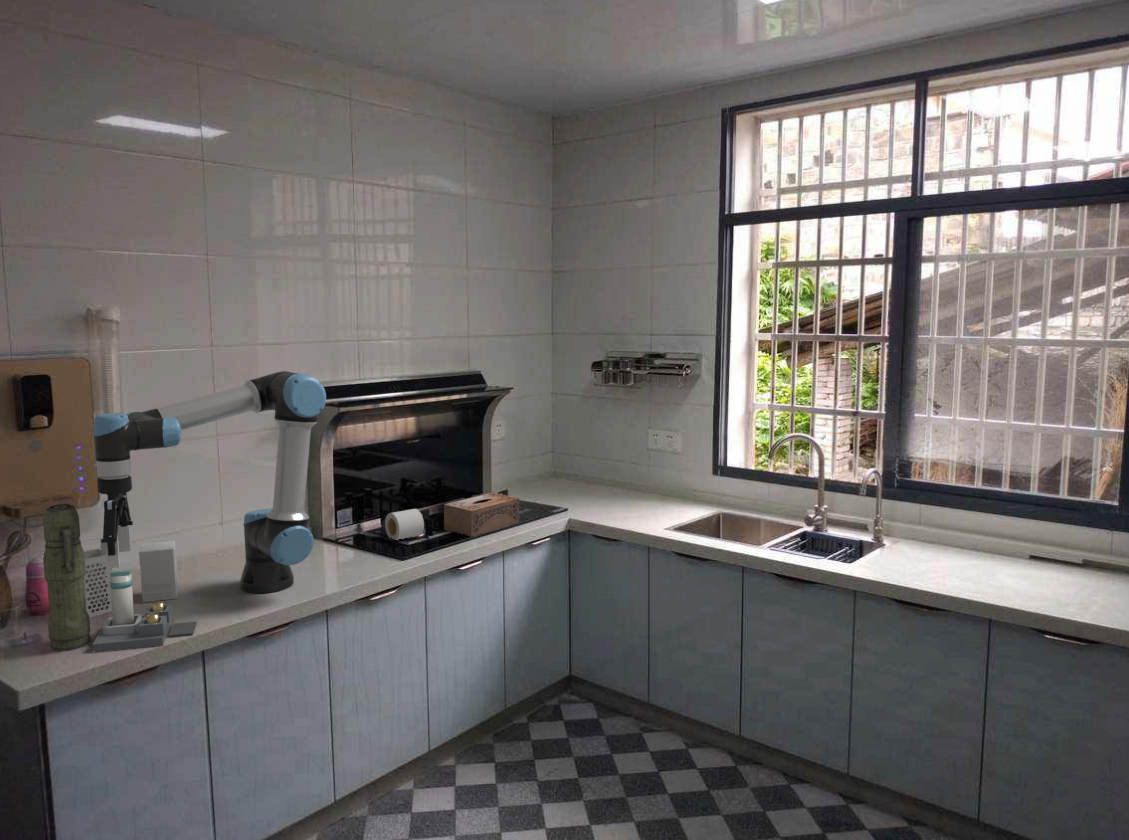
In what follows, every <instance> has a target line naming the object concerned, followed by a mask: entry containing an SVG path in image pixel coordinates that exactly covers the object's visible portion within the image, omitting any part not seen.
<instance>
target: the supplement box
mask: <svg viewBox="0 0 1129 840" xmlns="http://www.w3.org/2000/svg"><path fill="white" fill-rule="evenodd" d="M176 553H177V551H176V541H175V540H169V541H160V542H159V541H158V542H157V541H156V542H147V543H142V544H141V546H140V549H139V552H138V555H139V558H138V559H139V570H140V583H141V594H142V595H141V596H142V597H141V598H142V603H152V602H157V601H167V600H168V601H169V600H175V599H177V597H178V593H179V579H178V565H177V564H178V563H177V554H176Z"/></svg>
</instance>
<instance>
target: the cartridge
mask: <svg viewBox="0 0 1129 840" xmlns="http://www.w3.org/2000/svg"><path fill="white" fill-rule="evenodd" d="M110 588H111V601H112V612H111V614H112V616H111V617H113V626H117V625H128V624H134V614H135V612H134V595H133V578H132V572H131V569H126V570H112V571H111V572H110Z"/></svg>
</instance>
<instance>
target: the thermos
mask: <svg viewBox="0 0 1129 840" xmlns="http://www.w3.org/2000/svg"><path fill="white" fill-rule="evenodd" d="M42 523H43V524H42V526H43V538H44V541H45V544H44V553H43V557H42V562H43V563H42V564H43V574H44V575H43V576H44V580H45V582H46V584H47V585H46V586H47V596H48V597H47V598H48V608H49V617H48V620H47V629H48V631H47V632H48V639H49V640H50V642H49V643H50V649H51V650H52V651H57V652H67V651H68V652H69V651H72V650H73V649H74V650H77V648H78V649H80V647H81V648H83V647H86V646H87V645H89V644H90V643H91V636H90V635H91V623H90V622H91V621H90V619H91V617H89V615H88V613H87V611H86V598H85V584H84V576H85V574H86V568H85V554H84V552H85V550H84V548H83V546H82V542H81V541H80V539H81V538H80V537H81V529H80V527H81V526H80V515H79V513H78V511H77V509H76V506H74V505H72V504H67V503H61V504H54V505H50V506H49V507H46V509H45V511H44V514H43V518H42ZM85 645H86V646H85Z"/></svg>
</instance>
